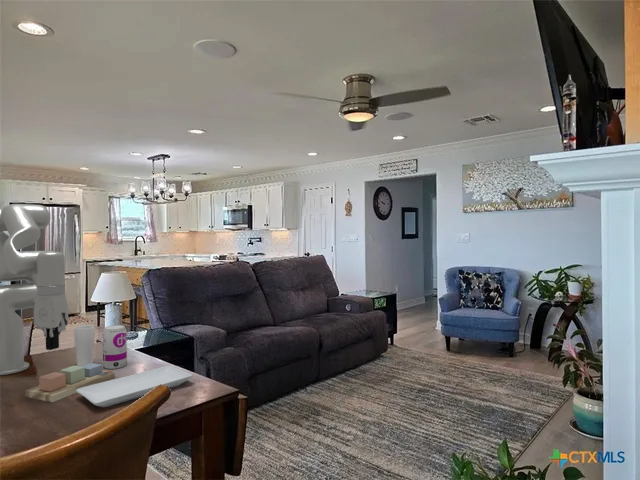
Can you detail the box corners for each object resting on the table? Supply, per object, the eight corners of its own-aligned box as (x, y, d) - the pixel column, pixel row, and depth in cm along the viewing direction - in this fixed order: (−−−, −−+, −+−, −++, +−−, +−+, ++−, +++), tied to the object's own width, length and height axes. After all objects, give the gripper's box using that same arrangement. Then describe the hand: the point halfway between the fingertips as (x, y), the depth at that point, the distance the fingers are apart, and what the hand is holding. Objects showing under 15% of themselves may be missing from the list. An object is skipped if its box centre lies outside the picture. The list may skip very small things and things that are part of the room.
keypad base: (25, 396, 132) (25, 389, 132) (89, 373, 153) (89, 366, 153) (52, 402, 127) (52, 395, 127) (114, 377, 149) (114, 371, 149)
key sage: (60, 382, 139) (60, 370, 139) (74, 377, 143) (73, 365, 143) (71, 384, 137) (71, 372, 137) (84, 379, 142) (84, 367, 141)
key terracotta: (39, 389, 132) (39, 377, 132) (54, 384, 137) (54, 372, 137) (50, 391, 130) (50, 379, 130) (65, 386, 135) (65, 373, 135)
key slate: (79, 378, 145) (79, 367, 145) (91, 374, 150) (91, 363, 150) (90, 380, 143) (89, 369, 143) (102, 376, 148) (102, 364, 148)
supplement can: (131, 365, 162) (130, 326, 162) (110, 371, 155) (110, 330, 155) (118, 361, 167) (118, 323, 166) (98, 367, 160) (98, 327, 159)
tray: (74, 399, 131) (74, 388, 131) (169, 373, 154) (169, 364, 154) (95, 415, 119) (95, 403, 119) (194, 385, 143) (194, 375, 143)
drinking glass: (86, 369, 157) (85, 329, 157) (70, 368, 159) (69, 328, 158) (98, 363, 164) (98, 325, 164) (83, 362, 165) (83, 324, 165)
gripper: (23, 291, 132) (24, 349, 132) (56, 293, 126) (58, 354, 127) (46, 288, 139) (47, 343, 139) (79, 290, 133) (80, 347, 134)
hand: (52, 348), depth 133 cm, fingers closed
